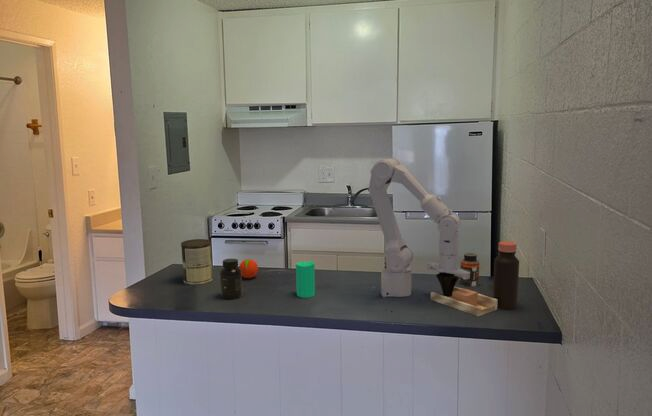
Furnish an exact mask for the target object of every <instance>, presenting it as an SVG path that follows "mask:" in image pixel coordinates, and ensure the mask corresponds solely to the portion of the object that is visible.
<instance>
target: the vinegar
mask: <svg viewBox="0 0 652 416" xmlns="http://www.w3.org/2000/svg"><path fill="white" fill-rule="evenodd" d="M497 248H498V255H497V256H496V257H495V258H494V260H493V262H494V263H493V284H492V285H493V286H492V287H493V288H492V298H494V299H498V301H497V309H500V310H504V311H505V310H506V311H510V310H511V311H512V310H515V309H517V308H518V295H519V294H518V293H519V274H520V260H519V258H518V257H517V256H516V253H517V243H516V242H513V241H505V240H504V241H500V242H498V247H497Z"/></svg>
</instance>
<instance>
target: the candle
mask: <svg viewBox="0 0 652 416" xmlns="http://www.w3.org/2000/svg"><path fill="white" fill-rule="evenodd" d="M315 269H316V268H315V262H314V261H312V260H311V261H310V260H308V261H299V262H297V263H295V284H296V286H295V287H296V296H297V297H299V298H303V299H304V298H312V297H314V296H315V295H316V288H315V287H316V282H315V276H316V273H315V271H316V270H315Z"/></svg>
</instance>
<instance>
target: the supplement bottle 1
mask: <svg viewBox="0 0 652 416" xmlns="http://www.w3.org/2000/svg"><path fill="white" fill-rule="evenodd" d="M219 279H220V281H219V282H220V296H221V298H222V299H225V300H236V299H240V298H241V297H242V296H243V276H242V271H241V269H240V268H239V259H238V258H225V259H223V260H222V268H221V269H220V272H219Z"/></svg>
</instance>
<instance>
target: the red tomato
mask: <svg viewBox="0 0 652 416" xmlns="http://www.w3.org/2000/svg"><path fill="white" fill-rule="evenodd" d="M238 267H239V268H240V269H241V271H242V278H244V279H252V278H254V277H256V275H257V274H258V271H259V266H258V263H257V262H256V260H253V259H250V258H246V259H244V260H242V261H241V262H240V264H239V265H238Z"/></svg>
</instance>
